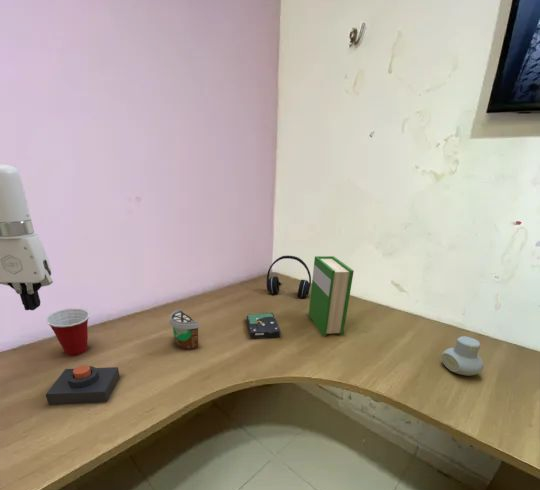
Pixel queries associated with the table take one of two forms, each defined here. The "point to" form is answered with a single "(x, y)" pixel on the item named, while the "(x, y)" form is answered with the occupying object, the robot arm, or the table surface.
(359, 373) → the table surface
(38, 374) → the table surface
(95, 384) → the button base
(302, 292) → the headphones
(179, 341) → the food container
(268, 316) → the disk drive
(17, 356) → the table surface
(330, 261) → the hardback book
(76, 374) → the push button
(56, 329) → the plastic cup
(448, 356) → the air freshener
